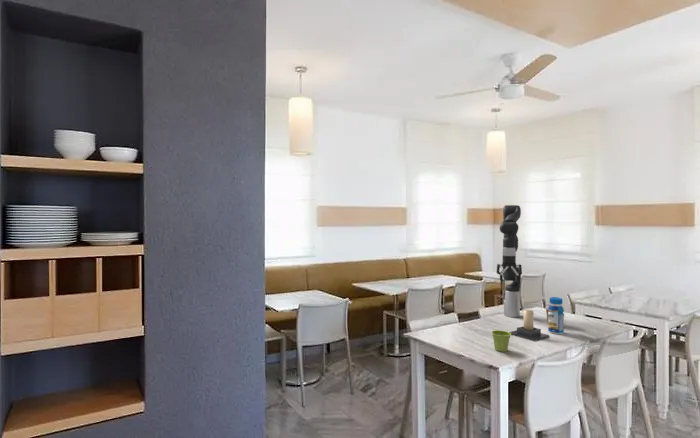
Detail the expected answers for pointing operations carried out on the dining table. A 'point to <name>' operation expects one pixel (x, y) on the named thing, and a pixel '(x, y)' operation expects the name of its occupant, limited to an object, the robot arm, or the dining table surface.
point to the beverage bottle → (556, 316)
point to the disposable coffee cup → (547, 310)
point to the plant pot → (501, 340)
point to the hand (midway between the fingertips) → (509, 281)
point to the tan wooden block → (528, 320)
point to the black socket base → (529, 334)
